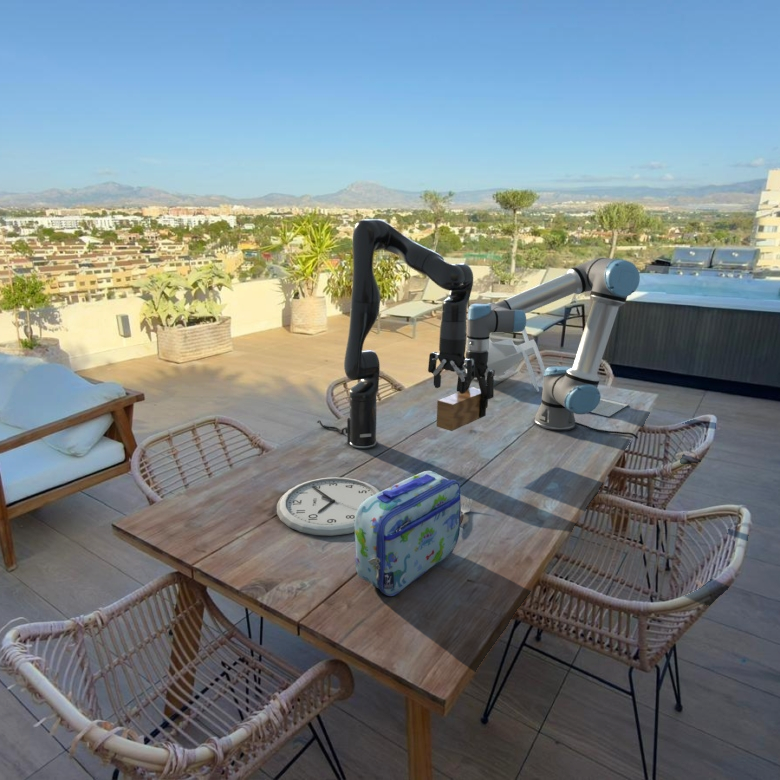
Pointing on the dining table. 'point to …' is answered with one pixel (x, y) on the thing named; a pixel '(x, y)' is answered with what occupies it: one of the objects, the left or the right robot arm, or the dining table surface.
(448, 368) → the left robot arm
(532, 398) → the dining table surface
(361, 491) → the wall clock
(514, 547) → the dining table surface
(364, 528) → the lunch box
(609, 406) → the invitation card
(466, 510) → the fork
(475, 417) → the box
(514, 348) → the white plastic object
